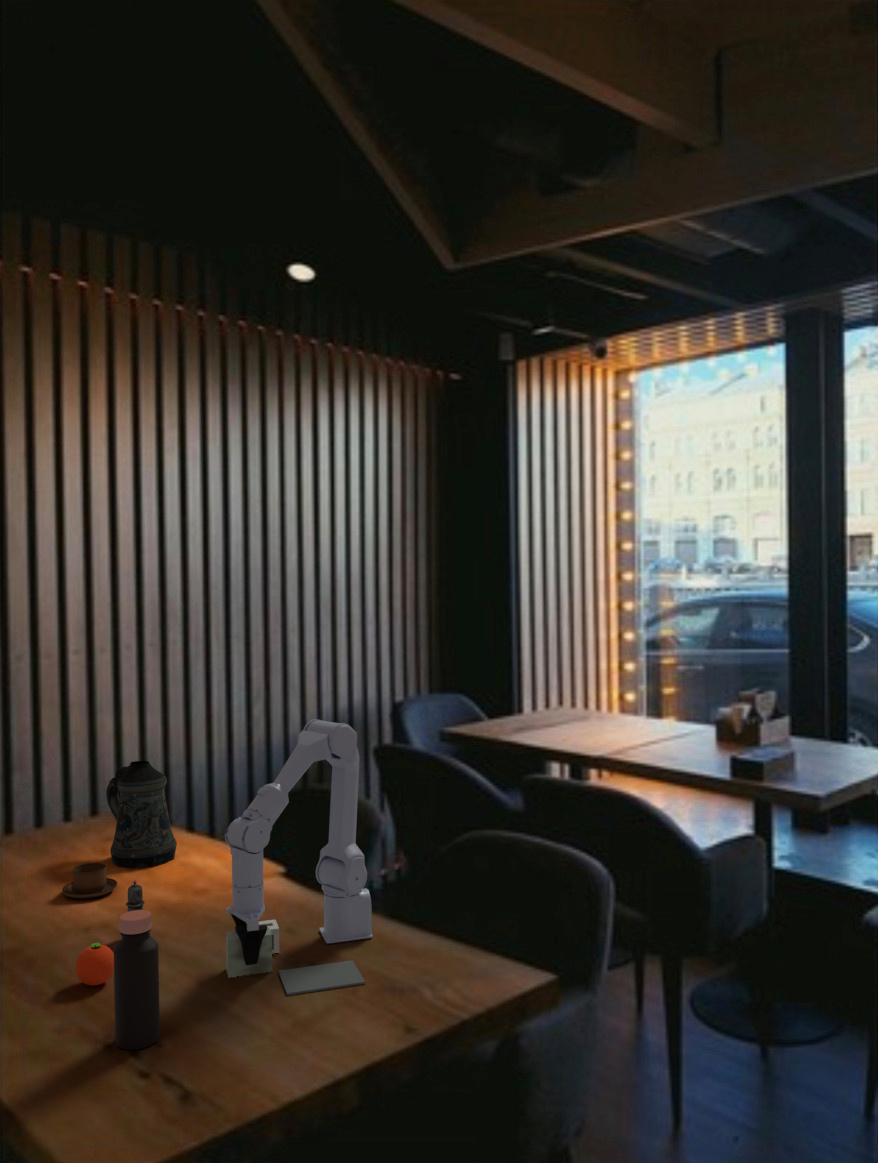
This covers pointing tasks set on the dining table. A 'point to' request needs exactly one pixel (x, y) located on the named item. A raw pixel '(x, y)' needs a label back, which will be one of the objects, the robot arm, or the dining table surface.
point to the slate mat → (320, 977)
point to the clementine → (95, 964)
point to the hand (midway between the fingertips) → (248, 956)
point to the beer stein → (140, 817)
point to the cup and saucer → (89, 882)
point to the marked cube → (273, 933)
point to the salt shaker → (135, 897)
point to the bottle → (136, 982)
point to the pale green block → (236, 958)
